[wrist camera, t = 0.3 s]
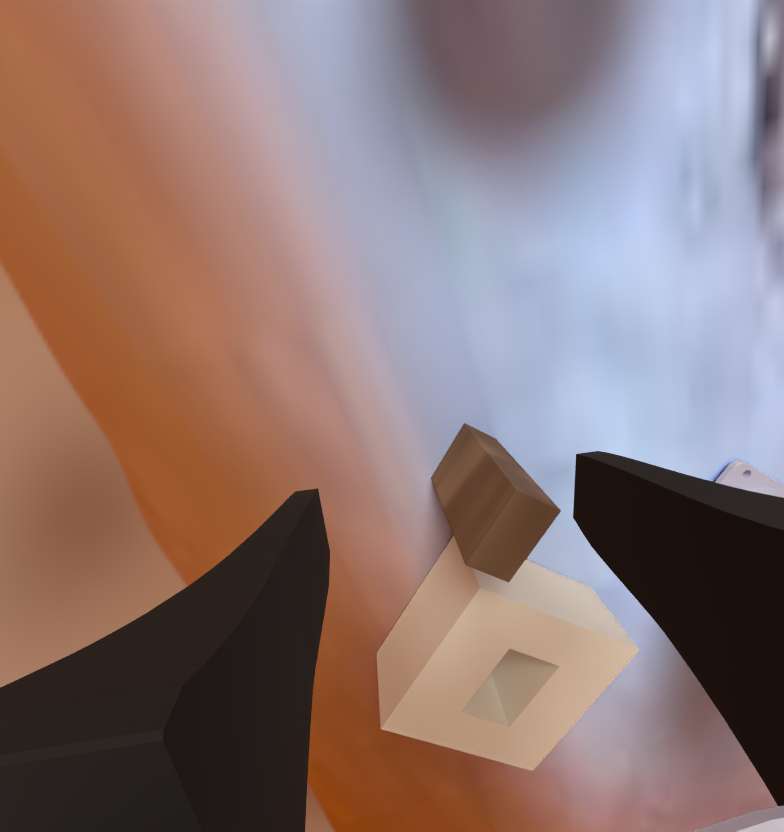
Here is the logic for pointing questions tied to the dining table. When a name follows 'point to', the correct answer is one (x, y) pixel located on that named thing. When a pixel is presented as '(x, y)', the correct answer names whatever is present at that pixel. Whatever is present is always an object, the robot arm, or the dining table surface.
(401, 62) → the dining table surface
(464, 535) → the brown rectangular block
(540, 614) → the cream square hole block
